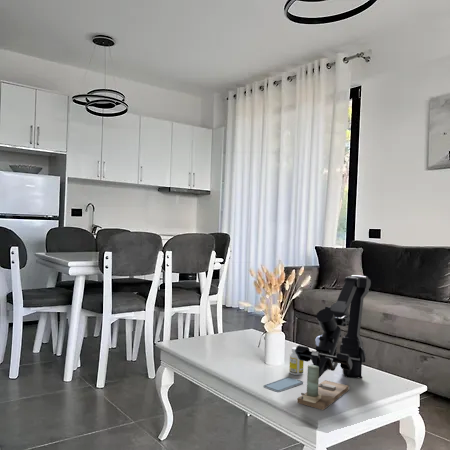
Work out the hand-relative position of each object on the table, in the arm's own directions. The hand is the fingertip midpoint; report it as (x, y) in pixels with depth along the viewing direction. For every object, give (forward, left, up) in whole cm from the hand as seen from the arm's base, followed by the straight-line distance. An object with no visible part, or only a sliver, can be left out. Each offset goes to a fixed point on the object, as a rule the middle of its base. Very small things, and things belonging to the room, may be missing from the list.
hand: (315, 379), depth 150 cm
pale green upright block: (+2, +1, -6) cm, 6 cm away
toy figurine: (-6, -49, -8) cm, 50 cm away
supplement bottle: (+5, -31, -8) cm, 32 cm away
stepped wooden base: (-4, -8, -8) cm, 12 cm away
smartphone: (+10, -15, -8) cm, 20 cm away
